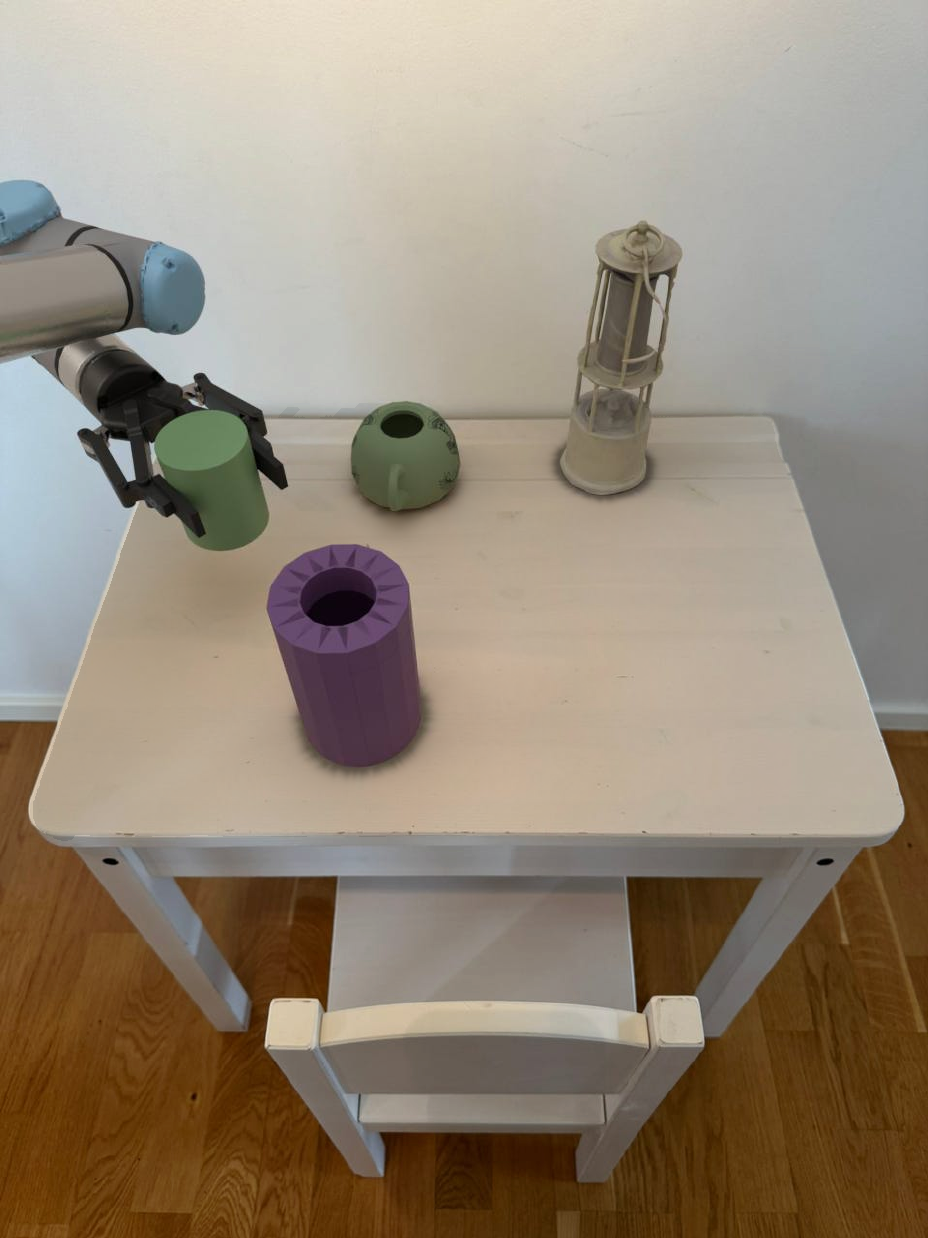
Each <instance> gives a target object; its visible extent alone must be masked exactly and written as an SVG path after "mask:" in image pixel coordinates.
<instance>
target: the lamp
mask: <svg viewBox="0 0 928 1238" xmlns="http://www.w3.org/2000/svg"><path fill="white" fill-rule="evenodd" d="M595 255H596V256H597V258H598V261H599V264H598V266H597V270H596V275H597V279H596V283H595V289H594V294H593V298H592V303H591V306H590V311H589V312H588V311H586V313H589V316H588V322H587V328H586V336H585V337H586V338H585V344H584V346H583V347H582V348H581V349H580V350H579V352H578V355H577V357H576V365H577V367H578V369H577V376H576V384H575V391H574V397H573V403H572V406H571V410H570V420H569V427H568V432H567V433H568V434H567V439H566V446H565V449H564V450H563V452H562V454H561V457H560V459H559V466H560V468H561V472H562V473H563V476H564V477H565V478H566V480H567V481H568V482H569V484H571V485H572V486H574V487H576V488H578V489H580V490H582V491H584V492H586V493H588V494H591V495H592V494H593V495H597V496H606V495H607V496H608V495H614V494H618V493H621V492H625V491H628V490H631V489H634V487H637V486H638V485H639V484H640V483H642V482H643V481H644V479H645V477H646V474H647V459H646V451H647V445H648V440H649V439H648V438H649V433H650V429H651V428H650V427H651V424H652V411H651V408H650V405H651V404H650V403H651V397H652V392H653V387H654V382H656V381H657V379H659V378H660V376H661V375H662V374H663V371H664V361H663V358H662V354H663V352H664V351H665V346H666V342H667V333H668V327H669V321H670V317H669V313H670V312H669V311H670V302H671V299H672V290H673V288H674V287H675V281H674V280H675V279H676V277H677V272H678V267H679V266H678V265H679V263H680V262H681V260H682V258H683V249H682V247H681V245H680V243H678V242H677V241H676V240H675V239H674V238H673V237H671V236H669V235H666V234H665V233H662V231H661V230H660V229H659V228H658V227H657V226H655V225H653V224H649V223H648V221H647V220H640V221H638V223H637V224H634V225H632V226H630V227H628V228H622V229H619V230H618V229H617V230H613V231H611V232H608V233H606V234H604V235H602V237H600V238H599V239H598V241H597V242H596V244H595ZM604 271H605V273H604ZM603 274H604V279H603V284H602V278H603ZM662 275H663V276H667V277H668V280H667V281H668V283H667V293H666V299H665V308H663V307H662V302H661V300H660V298H659V297H658V296H657V294H656V289H657V283H658V281H659V279H660V276H662ZM601 284H602V289H601ZM600 289H601V294H600ZM599 295H601V296H600V301H599V302H600V303H599V308H598V315H597V322H596V326H595V334H594V340H593V341H592V342H591V340H592V333H593V326H594V320H595V315H596V310H597V305H598V300H599ZM654 301H655V303H657V304H658V305H659V308H660V310H661V312H662V313H661V314H662V316H663V317H662V323H661V329H660V334H659V341H658V346H657V348H655V349H654V348H653V347H652V346H651V345H649V344H648V338H649V333H650V325H651V317H652V310H653V302H654ZM605 307H606V308H605ZM583 377H584V378H587V379H588V381H590V382H591V383H593V384H594V385H593V390H590V391H588V392H585V393H583V394H581V389H582V380H583V379H582V378H583ZM600 387H603V388H600ZM645 388H646V395H645V393H644V392H645ZM634 389H639V394H638V395H636V394H634V393H632V392H629V391H631V390H634ZM627 390H629V391H627ZM644 395H645V400H643V397H644Z"/></svg>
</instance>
